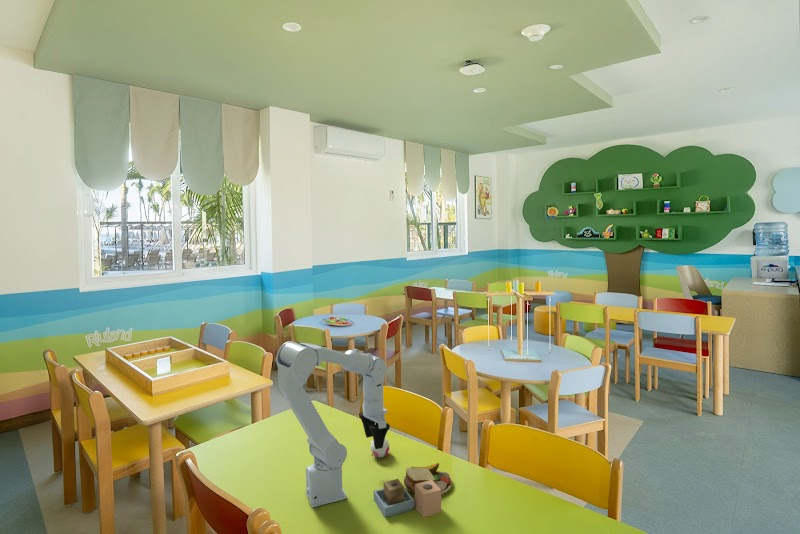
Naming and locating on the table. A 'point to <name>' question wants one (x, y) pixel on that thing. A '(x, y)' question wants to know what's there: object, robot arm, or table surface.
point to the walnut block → (393, 492)
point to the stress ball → (381, 451)
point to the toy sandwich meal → (427, 477)
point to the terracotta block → (427, 498)
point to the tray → (395, 508)
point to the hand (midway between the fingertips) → (374, 442)
